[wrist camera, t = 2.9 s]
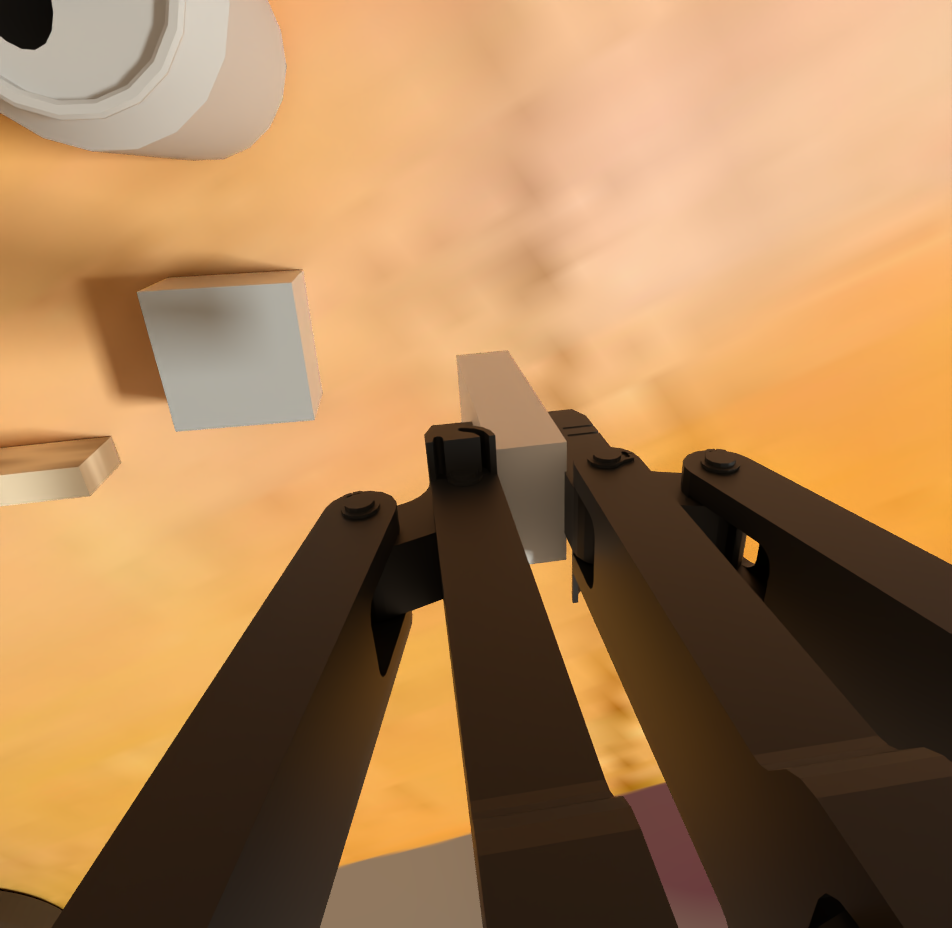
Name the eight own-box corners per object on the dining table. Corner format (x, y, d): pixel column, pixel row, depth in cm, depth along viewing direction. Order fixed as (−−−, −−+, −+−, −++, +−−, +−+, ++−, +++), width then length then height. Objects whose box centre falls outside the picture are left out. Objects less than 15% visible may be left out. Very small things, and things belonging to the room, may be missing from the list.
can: (49, -43, 22) (-279, -255, 11) (249, -86, 22) (117, -335, 11) (141, 179, 25) (-42, 180, 14) (314, 139, 25) (261, 112, 15)
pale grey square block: (201, 401, 30) (175, 431, 26) (169, 276, 27) (136, 291, 24) (323, 391, 30) (314, 420, 27) (303, 269, 28) (291, 282, 24)
